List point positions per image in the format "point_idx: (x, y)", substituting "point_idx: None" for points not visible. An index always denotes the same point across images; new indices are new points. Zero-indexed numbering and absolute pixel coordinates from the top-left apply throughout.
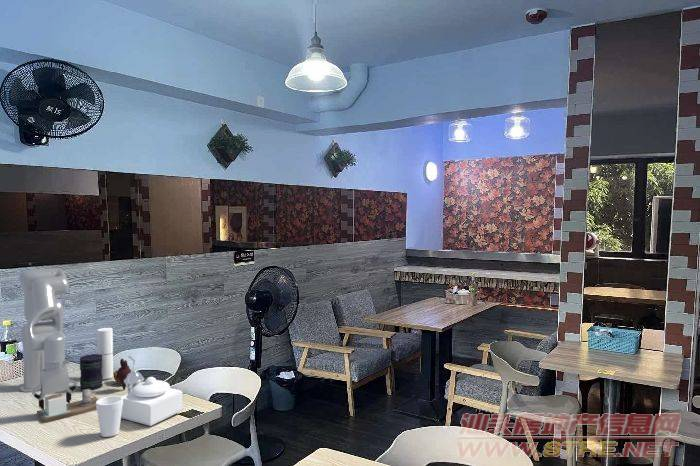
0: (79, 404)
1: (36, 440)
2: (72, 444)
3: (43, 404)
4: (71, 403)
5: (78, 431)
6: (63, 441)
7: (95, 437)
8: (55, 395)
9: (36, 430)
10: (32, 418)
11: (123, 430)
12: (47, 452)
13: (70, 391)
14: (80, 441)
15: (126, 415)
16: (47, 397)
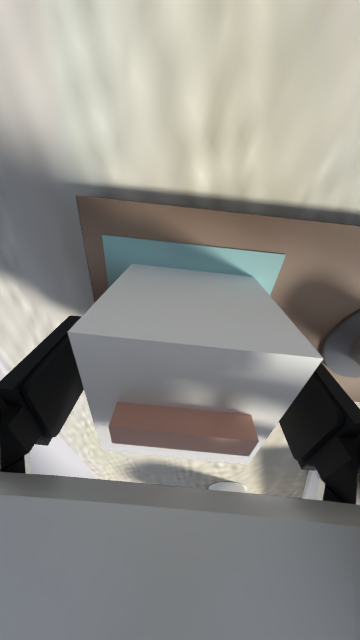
0: (339, 335)
1: (81, 439)
2: (148, 481)
3: (74, 398)
4: (349, 249)
5: (183, 458)
6: (137, 468)
7: (196, 485)
8: (182, 443)
9: (82, 395)
10: (63, 255)
11: (252, 493)
12: (100, 478)
13: (346, 500)
14: (165, 482)
15: (314, 486)
16: (103, 367)
